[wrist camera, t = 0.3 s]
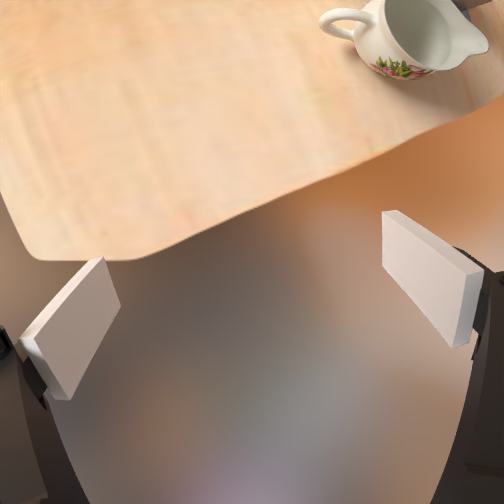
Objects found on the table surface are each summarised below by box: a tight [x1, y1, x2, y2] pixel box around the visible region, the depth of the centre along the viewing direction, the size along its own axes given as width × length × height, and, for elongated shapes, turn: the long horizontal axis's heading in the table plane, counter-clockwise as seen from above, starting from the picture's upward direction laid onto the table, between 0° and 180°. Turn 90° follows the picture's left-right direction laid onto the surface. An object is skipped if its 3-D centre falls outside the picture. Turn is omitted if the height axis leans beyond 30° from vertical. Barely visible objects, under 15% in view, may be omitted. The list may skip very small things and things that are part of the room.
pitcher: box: [319, 0, 489, 80], centre depth 28 cm, size 11×18×14 cm, turn 90°
